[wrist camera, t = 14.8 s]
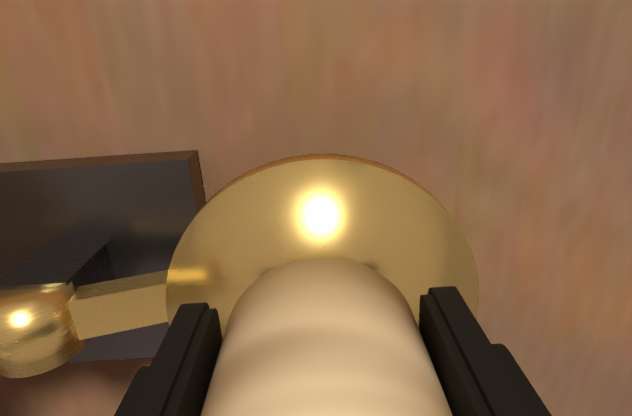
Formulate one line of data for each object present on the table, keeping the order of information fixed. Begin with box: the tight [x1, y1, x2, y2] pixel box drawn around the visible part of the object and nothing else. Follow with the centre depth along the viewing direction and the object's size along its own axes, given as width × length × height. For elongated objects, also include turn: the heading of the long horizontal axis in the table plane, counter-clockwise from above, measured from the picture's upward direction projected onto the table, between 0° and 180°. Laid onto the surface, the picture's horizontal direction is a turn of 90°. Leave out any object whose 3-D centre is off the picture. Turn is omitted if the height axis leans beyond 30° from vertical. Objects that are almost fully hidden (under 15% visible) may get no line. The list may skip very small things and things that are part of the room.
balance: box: [0, 150, 479, 378], centre depth 12 cm, size 8×23×8 cm, turn 94°
